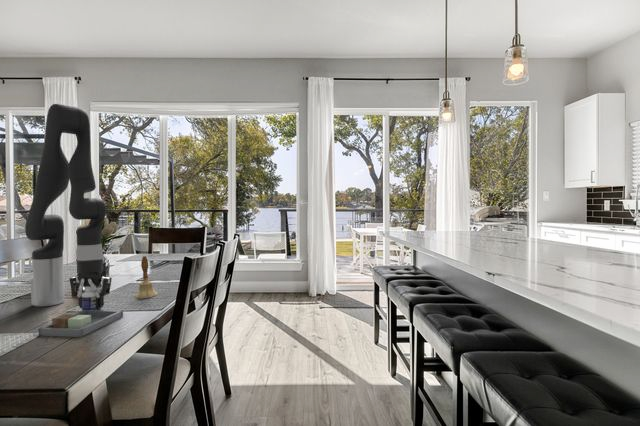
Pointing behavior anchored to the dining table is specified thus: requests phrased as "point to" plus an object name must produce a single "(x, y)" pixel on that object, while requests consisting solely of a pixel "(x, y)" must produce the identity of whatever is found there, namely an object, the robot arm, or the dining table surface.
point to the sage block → (79, 321)
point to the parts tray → (97, 321)
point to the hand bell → (145, 283)
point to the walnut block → (61, 321)
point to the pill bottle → (89, 299)
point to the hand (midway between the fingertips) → (91, 307)
